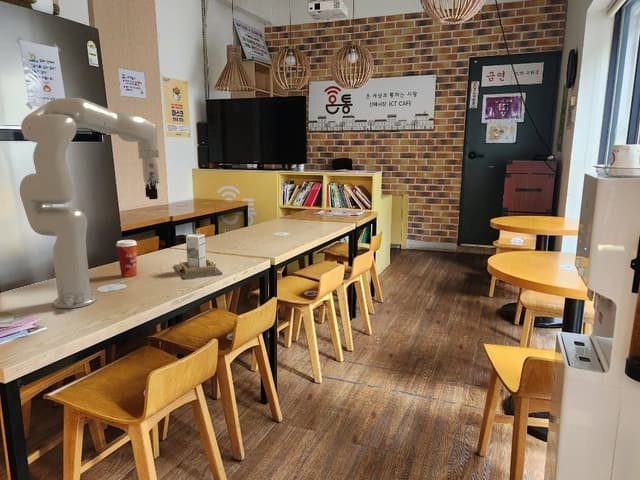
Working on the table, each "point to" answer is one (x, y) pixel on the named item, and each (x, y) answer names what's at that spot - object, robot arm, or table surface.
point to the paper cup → (127, 257)
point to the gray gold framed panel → (197, 270)
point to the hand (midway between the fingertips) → (151, 198)
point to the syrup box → (196, 250)
